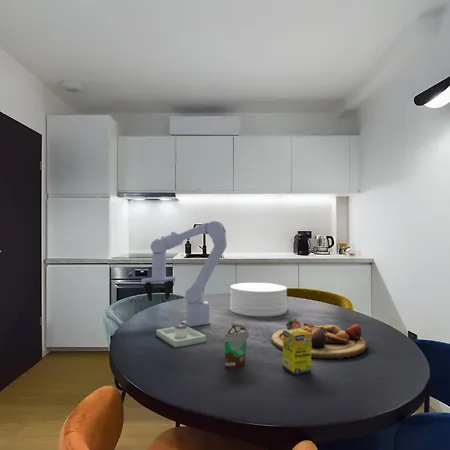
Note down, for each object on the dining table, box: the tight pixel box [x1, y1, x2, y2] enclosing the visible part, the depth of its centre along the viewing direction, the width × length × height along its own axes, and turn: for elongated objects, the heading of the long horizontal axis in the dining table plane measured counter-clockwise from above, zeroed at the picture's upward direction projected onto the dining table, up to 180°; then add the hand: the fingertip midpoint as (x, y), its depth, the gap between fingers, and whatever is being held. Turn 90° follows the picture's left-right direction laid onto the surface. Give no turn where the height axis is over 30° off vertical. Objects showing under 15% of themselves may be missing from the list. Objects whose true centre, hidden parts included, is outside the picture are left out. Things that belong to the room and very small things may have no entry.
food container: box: [223, 323, 250, 369], centre depth 104 cm, size 12×6×10 cm, turn 168°
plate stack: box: [229, 282, 288, 317], centre depth 175 cm, size 28×28×12 cm
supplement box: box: [282, 328, 312, 376], centre depth 99 cm, size 6×6×11 cm
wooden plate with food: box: [270, 318, 367, 359], centre depth 123 cm, size 32×32×8 cm
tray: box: [155, 325, 207, 348], centre depth 126 cm, size 12×16×2 cm
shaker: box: [174, 323, 188, 339], centre depth 126 cm, size 4×4×4 cm
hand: (158, 299), depth 148 cm, fingers open, 7 cm apart
